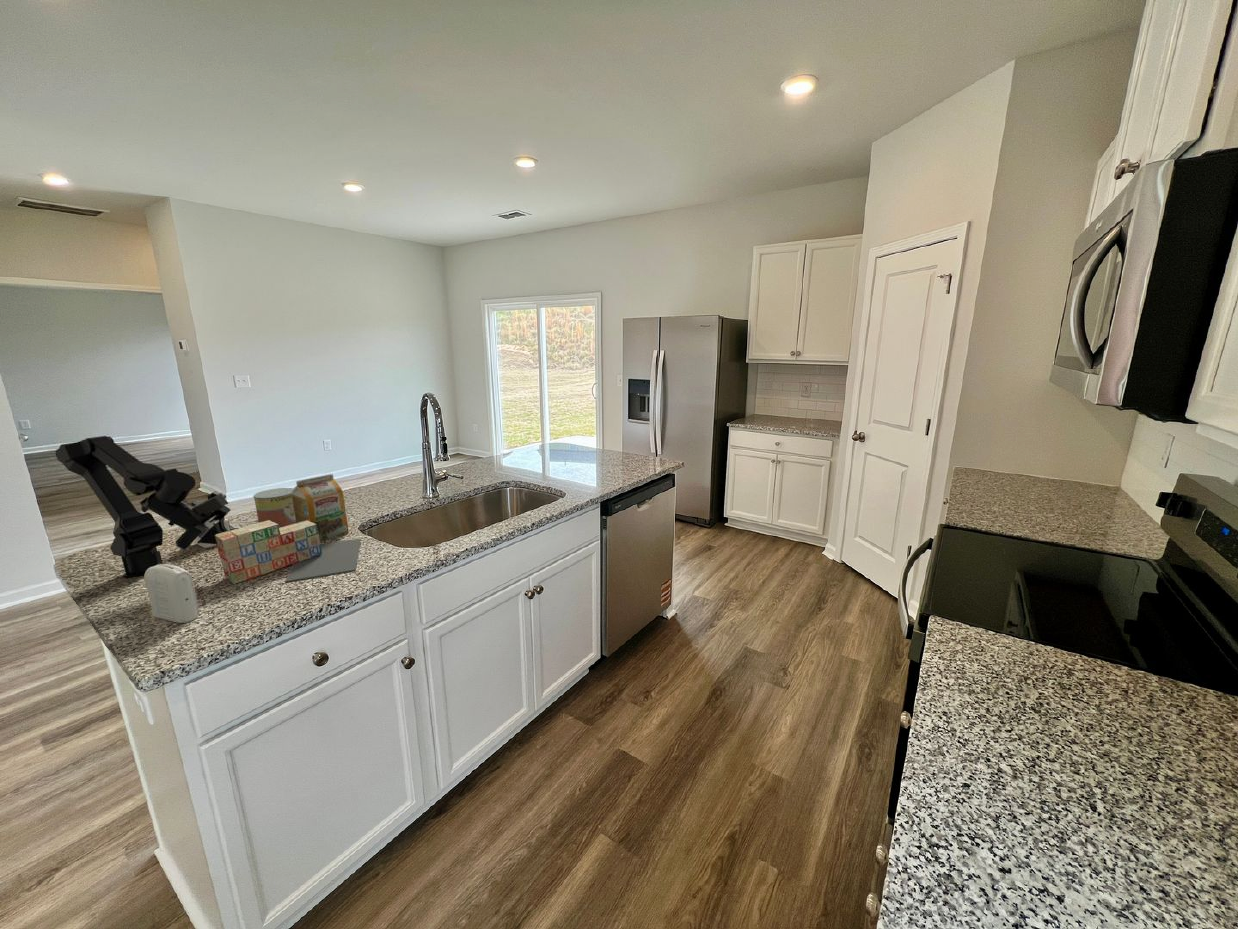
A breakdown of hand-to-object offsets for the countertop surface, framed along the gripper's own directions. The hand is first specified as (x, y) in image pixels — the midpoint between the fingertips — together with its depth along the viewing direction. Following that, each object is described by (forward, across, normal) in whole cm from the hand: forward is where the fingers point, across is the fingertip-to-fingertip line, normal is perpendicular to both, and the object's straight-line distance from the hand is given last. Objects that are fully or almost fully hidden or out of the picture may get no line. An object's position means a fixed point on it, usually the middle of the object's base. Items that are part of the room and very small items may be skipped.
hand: (236, 544), depth 130 cm
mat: (+19, +1, -9) cm, 21 cm away
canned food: (+5, +36, +6) cm, 36 cm away
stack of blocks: (+11, 0, 0) cm, 11 cm away
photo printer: (+2, -22, +9) cm, 24 cm away
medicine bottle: (-6, +27, +17) cm, 32 cm away
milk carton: (+16, +23, -5) cm, 28 cm away
